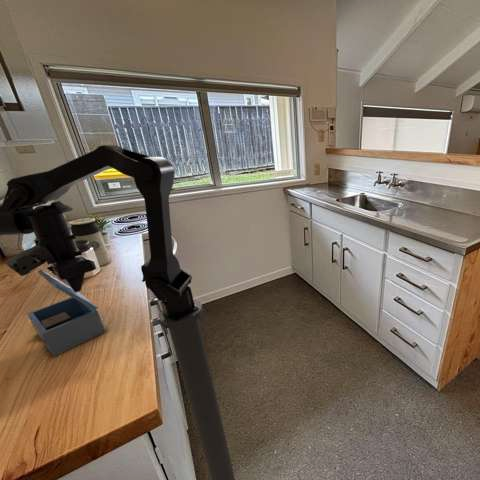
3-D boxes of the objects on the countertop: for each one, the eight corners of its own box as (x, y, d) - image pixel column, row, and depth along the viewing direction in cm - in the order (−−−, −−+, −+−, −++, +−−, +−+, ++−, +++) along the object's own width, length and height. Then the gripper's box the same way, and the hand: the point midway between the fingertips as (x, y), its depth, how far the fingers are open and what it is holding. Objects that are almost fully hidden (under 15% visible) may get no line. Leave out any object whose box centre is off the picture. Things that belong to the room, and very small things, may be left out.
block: (71, 325, 66) (64, 311, 64) (77, 332, 64) (70, 317, 62) (47, 336, 62) (40, 321, 61) (52, 343, 60) (45, 327, 59)
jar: (69, 282, 88) (55, 251, 84) (68, 274, 94) (56, 244, 90) (102, 274, 94) (91, 243, 90) (99, 267, 100) (89, 238, 95)
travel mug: (85, 263, 103) (69, 220, 97) (110, 258, 108) (96, 216, 101) (84, 270, 97) (66, 225, 91) (110, 264, 102) (95, 221, 95)
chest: (53, 356, 57) (42, 334, 55) (37, 334, 64) (26, 313, 62) (105, 331, 65) (97, 310, 62) (85, 313, 72) (77, 294, 69)
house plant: (103, 254, 111) (91, 218, 105) (72, 254, 112) (58, 218, 106) (127, 242, 125) (117, 209, 119) (100, 242, 125) (88, 210, 119)
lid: (54, 286, 55) (58, 284, 56) (37, 271, 62) (40, 269, 63) (95, 310, 62) (98, 307, 63) (75, 294, 69) (78, 292, 70)
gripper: (-9, 235, 57) (22, 295, 63) (8, 253, 47) (43, 322, 53) (58, 222, 66) (80, 276, 71) (84, 235, 56) (107, 296, 62)
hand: (77, 291), depth 64 cm, fingers closed, pressing on lid
